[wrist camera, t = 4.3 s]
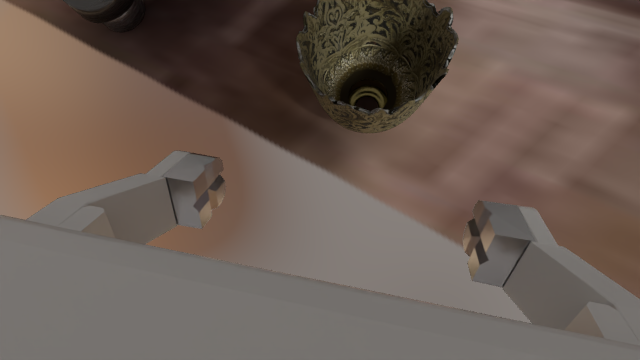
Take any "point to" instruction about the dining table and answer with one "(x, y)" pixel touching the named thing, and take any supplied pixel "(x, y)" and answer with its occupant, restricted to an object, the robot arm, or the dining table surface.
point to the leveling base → (110, 12)
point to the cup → (375, 57)
